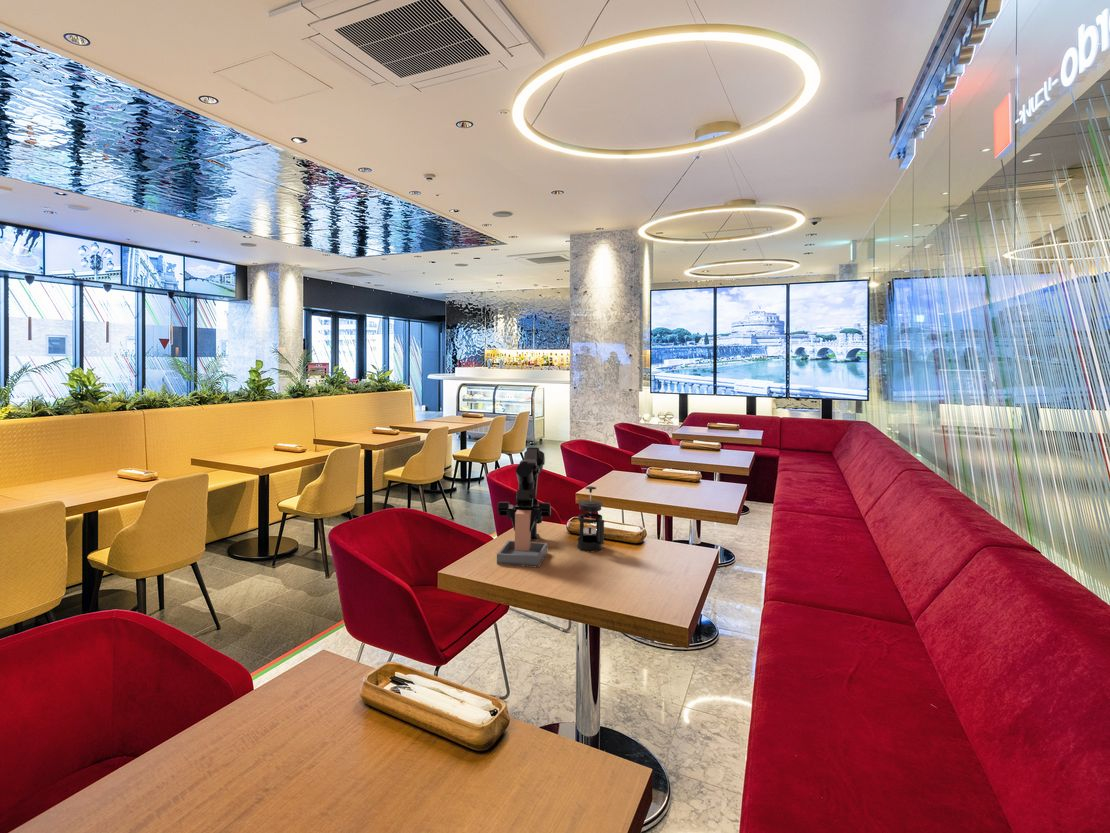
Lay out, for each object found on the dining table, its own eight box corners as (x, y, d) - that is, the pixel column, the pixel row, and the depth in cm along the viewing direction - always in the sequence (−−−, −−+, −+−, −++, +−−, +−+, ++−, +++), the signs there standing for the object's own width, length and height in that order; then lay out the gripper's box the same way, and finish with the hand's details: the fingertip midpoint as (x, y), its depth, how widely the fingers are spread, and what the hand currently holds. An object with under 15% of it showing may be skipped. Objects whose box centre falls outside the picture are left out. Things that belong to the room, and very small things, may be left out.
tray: (508, 549, 206) (508, 540, 206) (547, 552, 204) (547, 543, 203) (496, 563, 192) (496, 553, 192) (538, 567, 189) (538, 557, 189)
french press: (570, 546, 211) (571, 486, 208) (588, 541, 217) (589, 482, 215) (592, 554, 202) (593, 491, 200) (610, 549, 208) (612, 488, 206)
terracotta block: (516, 545, 200) (516, 509, 199) (530, 545, 200) (531, 510, 198) (514, 550, 195) (515, 513, 194) (529, 550, 195) (529, 514, 193)
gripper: (498, 479, 199) (493, 518, 190) (550, 480, 199) (548, 520, 189) (501, 495, 208) (496, 534, 198) (551, 496, 207) (549, 535, 197)
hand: (522, 530), depth 195 cm, fingers closed on terracotta block, 5 cm apart
